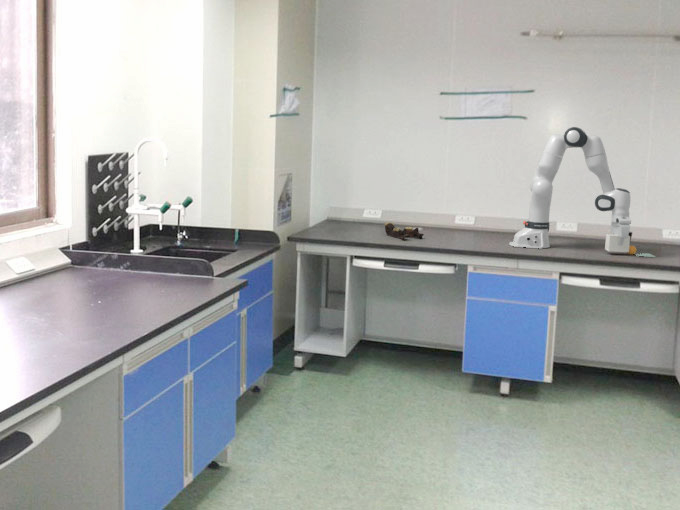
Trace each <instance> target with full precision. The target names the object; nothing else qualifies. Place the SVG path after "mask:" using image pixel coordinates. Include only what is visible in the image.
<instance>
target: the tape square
mask: <svg viewBox="0 0 680 510" xmlns="http://www.w3.org/2000/svg"><path fill="white" fill-rule="evenodd" d="M639 253H640V255H639V254H638V256H637V255H636V257H639V256H644V257H645V258H656V256H655V255H653V254H651V253H643V252H639ZM641 253H642V254H641ZM644 257H643V258H644Z"/></svg>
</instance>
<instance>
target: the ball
mask: <svg viewBox="0 0 680 510" xmlns="http://www.w3.org/2000/svg"><path fill="white" fill-rule="evenodd" d="M626 253H627V254H629V255H630V256H632V255H633V254H635V253H637V247H636V246H634V245H630V246H629V252H626Z"/></svg>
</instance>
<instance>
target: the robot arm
mask: <svg viewBox="0 0 680 510" xmlns="http://www.w3.org/2000/svg"><path fill="white" fill-rule="evenodd" d="M568 148H569V149H570V148H574V149H575V148H580V149H581V150H582V151H583V155H584V159H585V163H586V167H587V169H588V171H590V172H592V173H593V174H594V175H596V177H597V178H598V179H599V183H600V186H601V190H602V193H601V194H599V195H597V196H596V197H595V199H594V206H595V207H596V209H597V210H598V211H600V212H609V211H610V212H611V223H610V229H609V231H610V234H615V235H617V236H619V237H620V238H619V239H620V240H619V245H623V241H624V238H628V235H629V231H630V227H631V224H632V220H631V218H630V207H631V192H630V191H629V190H628V189H626V188H620V187H619V188H615V185H614V182H613V178H612V175H611V172H610V171H611V170H610V168H609V165H608V163H609V162H608V159H607V153H606V150H605V146H604V143H603V141H602V138H601V137H600V136H597V135H587V133H586V132H585V131H584V129H582V128H581V127H578V126H573V127H572V126H571V127H569V128H567V129H566V131H565V132H564V134H563V135H561V134H553V135H551V136H550V137H549V139H548V141H547V142H546V144H545V147H544V150H543V152H542V153H541V157H540V160H539V162H538V163H539V164H538V165H537V167H536V170H535V172H534V175H533V177H532V179H531V182H530V186H529V188H530V191H531V196H530V197H531V198H530V205H529V214H528V220H527V221H525V220H523V222H522V224H523V225H524V227H523V228H521V229H520V230H519V231H517V232H516V233H515V234H514V236H513V241H509V243H508V244H509V246H510V247H513V246H514V247H515V248H523V247H526V249H538V248H539V249H541V250H542V249H546V248H550V247H551V246H550V241H549V231H550V210H551V204H552V198H553V191H554V189H553V188H554V186H553V182H554V179H555V177H556V176H557V174H558V171H559V169H560V167H561V163H562V160H563V157H564V155H565V153H566V150H567V149H568Z"/></svg>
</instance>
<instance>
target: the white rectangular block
mask: <svg viewBox="0 0 680 510" xmlns="http://www.w3.org/2000/svg"><path fill="white" fill-rule="evenodd" d="M619 238H620V237H619V236H617V235H615V234H612V233H606V234H605V241H604V242H605V245H604V250H606V251H607V252H610V253H611V252H614V253H615V252H617V253H627V252H629V245H630V246H631V241H630V236H628V238H624V241H623V245H619V240H620V239H619Z"/></svg>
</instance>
